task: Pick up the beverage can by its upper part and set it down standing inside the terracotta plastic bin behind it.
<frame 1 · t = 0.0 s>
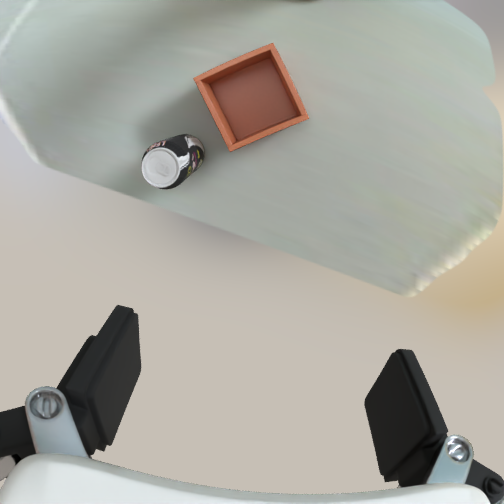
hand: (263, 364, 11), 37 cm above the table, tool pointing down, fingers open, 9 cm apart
beverage can: (186, 153, 44), on the table
bin: (253, 98, 40), on the table
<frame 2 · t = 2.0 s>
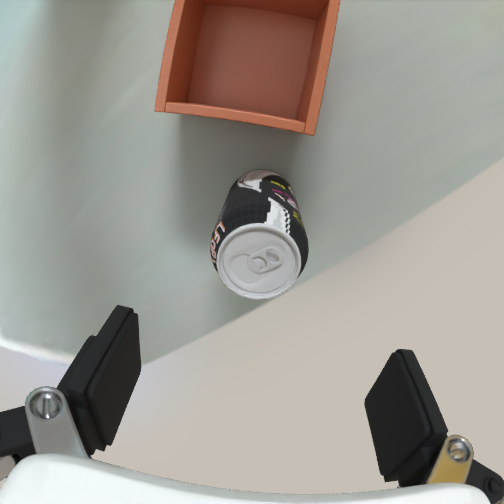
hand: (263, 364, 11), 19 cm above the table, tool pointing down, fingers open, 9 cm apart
beverage can: (261, 199, 28), on the table
bin: (251, 58, 22), on the table
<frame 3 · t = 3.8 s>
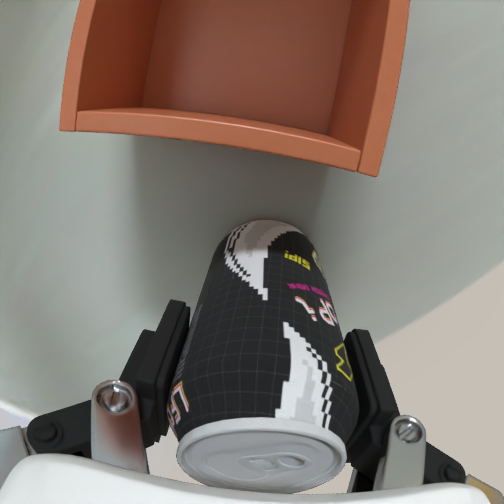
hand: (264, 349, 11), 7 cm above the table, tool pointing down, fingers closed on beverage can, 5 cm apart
beverage can: (265, 262, 18), on the table, touching gripper
bin: (249, 31, 13), on the table
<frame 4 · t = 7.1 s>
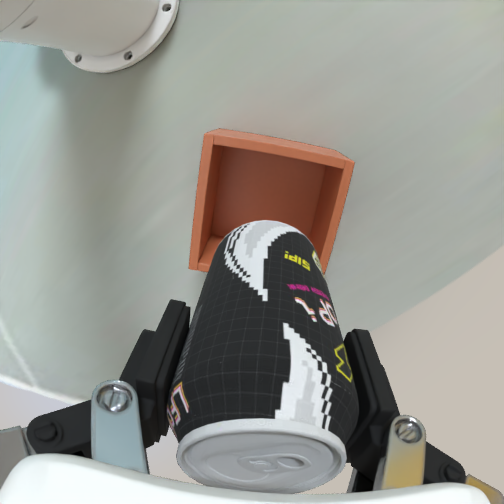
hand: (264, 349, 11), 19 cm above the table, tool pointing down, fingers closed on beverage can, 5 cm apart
beverage can: (265, 262, 18), point 12 cm above the table, touching gripper
bin: (267, 194, 29), on the table
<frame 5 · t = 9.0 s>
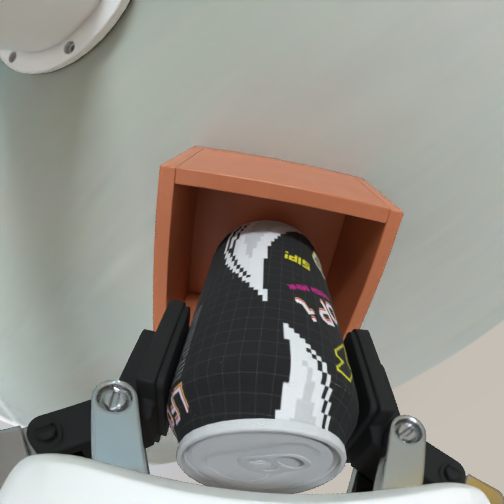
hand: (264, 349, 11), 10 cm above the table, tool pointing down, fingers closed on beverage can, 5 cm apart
beverage can: (265, 262, 18), point 3 cm above the table, touching gripper
bin: (264, 239, 21), on the table
when the fingers open (8 cm above the table, at t = 10.2 s): beverage can stays where it is, resting on bin.
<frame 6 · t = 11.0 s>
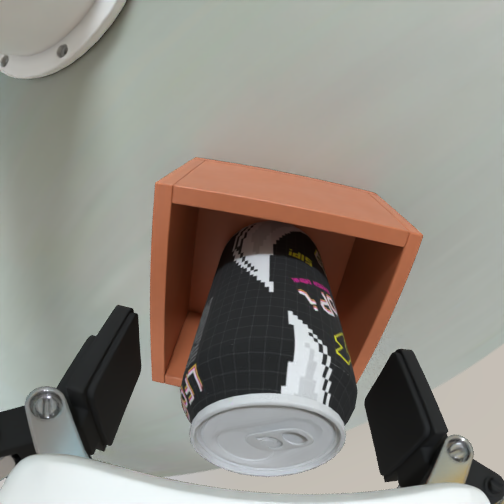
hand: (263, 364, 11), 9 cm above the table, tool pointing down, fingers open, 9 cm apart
beverage can: (270, 261, 19), resting on bin
bin: (270, 257, 19), on the table
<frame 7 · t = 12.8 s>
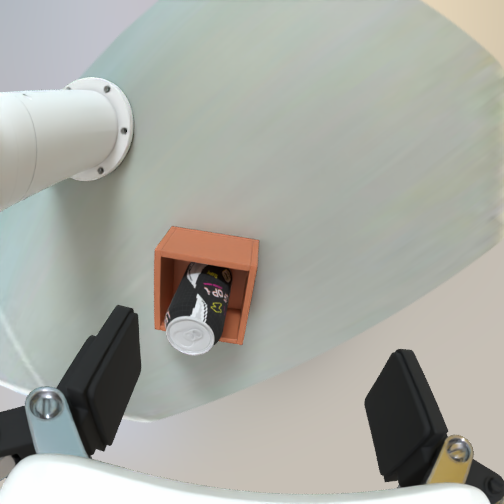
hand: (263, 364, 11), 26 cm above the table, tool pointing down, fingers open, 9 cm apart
beverage can: (210, 273, 39), resting on bin
bin: (210, 271, 39), on the table
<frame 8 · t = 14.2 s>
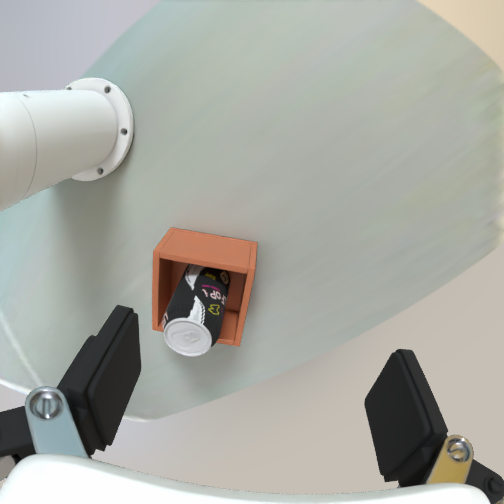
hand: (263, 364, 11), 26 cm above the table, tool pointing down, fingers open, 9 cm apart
beverage can: (208, 275, 39), resting on bin
bin: (208, 273, 39), on the table
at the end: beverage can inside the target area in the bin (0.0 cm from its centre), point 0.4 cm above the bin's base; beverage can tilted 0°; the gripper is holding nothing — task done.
